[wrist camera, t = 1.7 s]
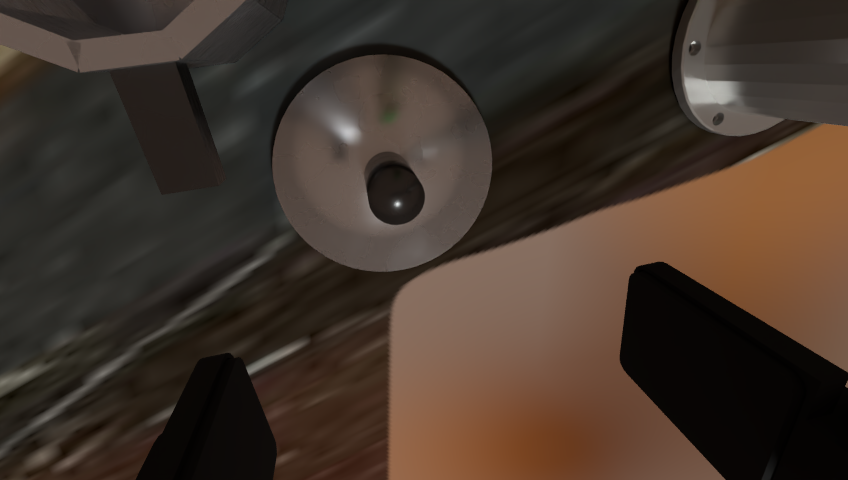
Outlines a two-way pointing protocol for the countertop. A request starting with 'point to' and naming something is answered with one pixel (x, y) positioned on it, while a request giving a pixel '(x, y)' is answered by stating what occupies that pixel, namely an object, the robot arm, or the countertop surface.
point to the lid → (382, 163)
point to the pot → (148, 64)
